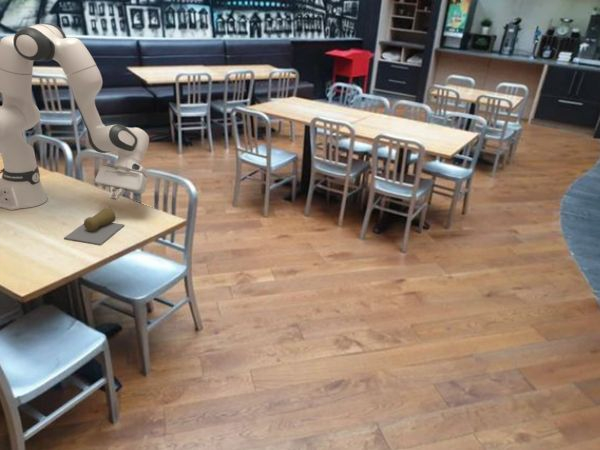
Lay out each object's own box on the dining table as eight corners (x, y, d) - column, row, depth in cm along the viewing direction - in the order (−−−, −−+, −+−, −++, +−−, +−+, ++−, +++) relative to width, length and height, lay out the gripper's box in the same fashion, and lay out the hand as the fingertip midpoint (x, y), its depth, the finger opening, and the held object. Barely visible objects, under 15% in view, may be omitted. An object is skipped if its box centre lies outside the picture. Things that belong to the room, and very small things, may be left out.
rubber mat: (64, 239, 162) (63, 237, 161) (90, 220, 176) (90, 218, 176) (100, 245, 160) (100, 244, 160) (124, 225, 174) (124, 224, 174)
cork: (117, 223, 175) (96, 234, 165) (104, 221, 177) (83, 232, 167) (113, 208, 172) (92, 218, 163) (101, 207, 175) (79, 217, 165)
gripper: (99, 159, 178) (85, 190, 174) (146, 167, 174) (133, 200, 170) (107, 166, 184) (94, 197, 180) (153, 175, 180) (140, 206, 176)
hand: (113, 199), depth 175 cm, fingers closed
